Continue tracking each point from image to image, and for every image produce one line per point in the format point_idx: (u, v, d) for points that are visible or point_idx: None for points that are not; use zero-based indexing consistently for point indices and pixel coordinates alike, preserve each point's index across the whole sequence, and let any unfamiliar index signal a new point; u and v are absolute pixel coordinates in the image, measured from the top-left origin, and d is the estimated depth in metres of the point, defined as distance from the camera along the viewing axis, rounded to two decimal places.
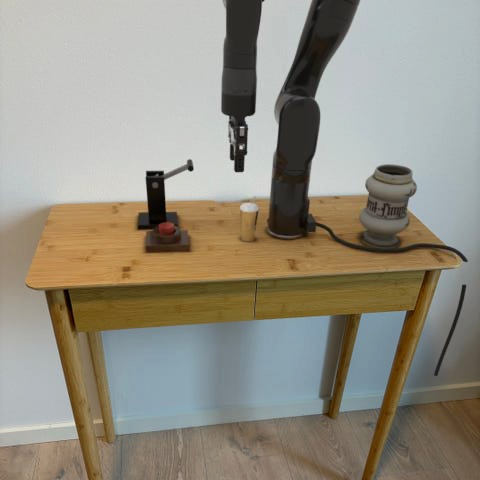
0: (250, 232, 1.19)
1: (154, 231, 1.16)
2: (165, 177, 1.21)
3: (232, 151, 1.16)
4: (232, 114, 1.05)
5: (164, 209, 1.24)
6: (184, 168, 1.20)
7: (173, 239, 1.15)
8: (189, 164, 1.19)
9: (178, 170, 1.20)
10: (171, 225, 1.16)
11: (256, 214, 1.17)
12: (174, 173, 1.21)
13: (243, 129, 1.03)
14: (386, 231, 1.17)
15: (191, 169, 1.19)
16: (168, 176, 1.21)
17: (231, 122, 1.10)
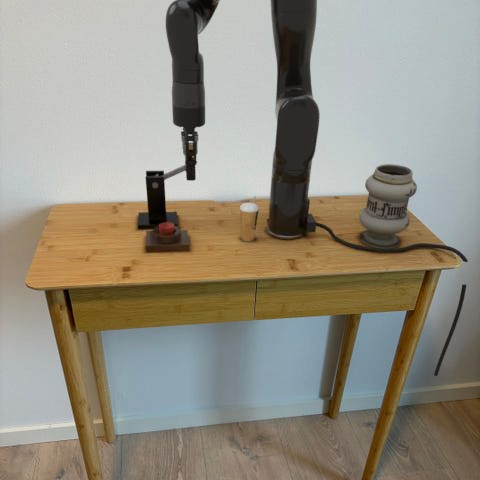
0: (250, 232, 1.19)
1: (154, 231, 1.16)
2: (165, 177, 1.21)
3: None
4: (182, 125, 1.12)
5: (164, 209, 1.24)
6: (184, 168, 1.20)
7: (173, 239, 1.15)
8: None
9: (178, 170, 1.20)
10: (171, 225, 1.16)
11: (256, 214, 1.17)
12: (174, 173, 1.21)
13: (192, 144, 1.11)
14: (386, 231, 1.17)
15: None
16: (168, 176, 1.21)
17: (183, 132, 1.17)
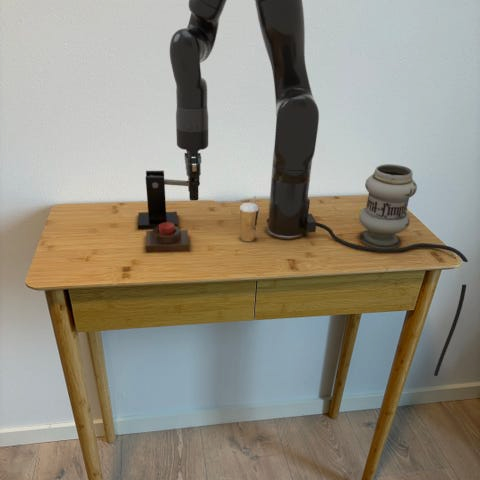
0: (250, 232, 1.19)
1: (154, 231, 1.16)
2: (166, 182, 1.22)
3: None
4: (186, 148, 1.15)
5: (164, 209, 1.24)
6: (187, 184, 1.23)
7: (173, 239, 1.15)
8: None
9: (181, 183, 1.22)
10: (171, 225, 1.16)
11: (256, 214, 1.17)
12: (176, 183, 1.22)
13: (195, 166, 1.14)
14: (386, 231, 1.17)
15: None
16: (169, 183, 1.22)
17: (187, 154, 1.20)
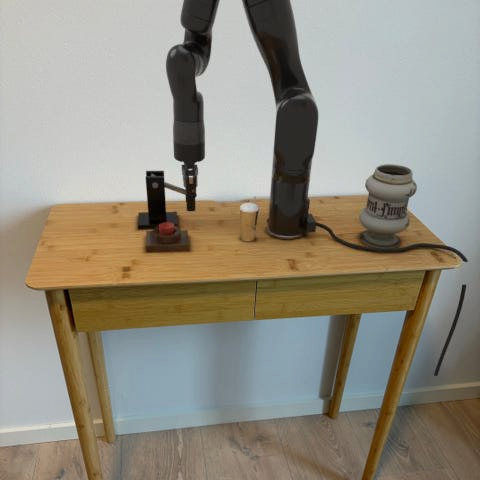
0: (250, 232, 1.19)
1: (154, 231, 1.16)
2: (166, 186, 1.22)
3: None
4: (183, 160, 1.17)
5: (164, 209, 1.24)
6: (185, 193, 1.24)
7: (173, 239, 1.15)
8: None
9: (180, 190, 1.23)
10: (171, 225, 1.16)
11: (256, 214, 1.17)
12: (175, 189, 1.23)
13: (192, 179, 1.16)
14: (386, 231, 1.17)
15: None
16: (168, 187, 1.23)
17: (184, 166, 1.21)
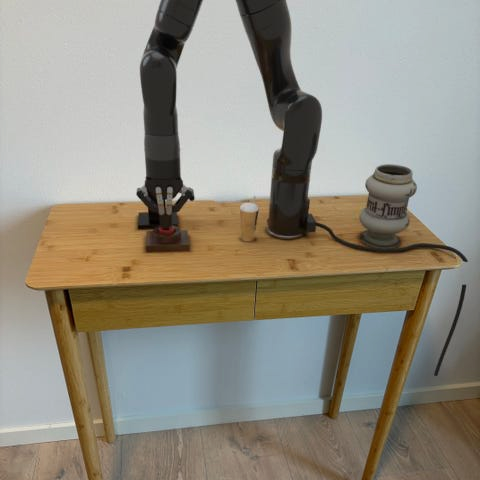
0: (250, 232, 1.19)
1: (154, 231, 1.16)
2: None
3: None
4: None
5: (164, 209, 1.24)
6: None
7: (173, 239, 1.15)
8: (192, 194, 1.24)
9: (180, 190, 1.23)
10: (171, 228, 1.16)
11: (256, 214, 1.17)
12: None
13: None
14: (386, 231, 1.17)
15: (191, 199, 1.23)
16: None
17: None
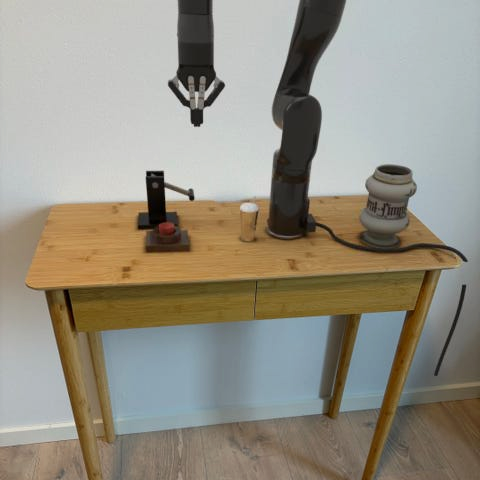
0: (250, 232, 1.19)
1: (154, 231, 1.16)
2: (165, 186, 1.22)
3: None
4: None
5: (164, 209, 1.24)
6: (185, 193, 1.24)
7: (173, 239, 1.15)
8: (192, 194, 1.24)
9: (180, 190, 1.23)
10: (171, 225, 1.16)
11: (256, 214, 1.17)
12: (175, 189, 1.23)
13: (168, 85, 1.06)
14: (386, 231, 1.17)
15: (191, 199, 1.23)
16: (168, 187, 1.23)
17: None
